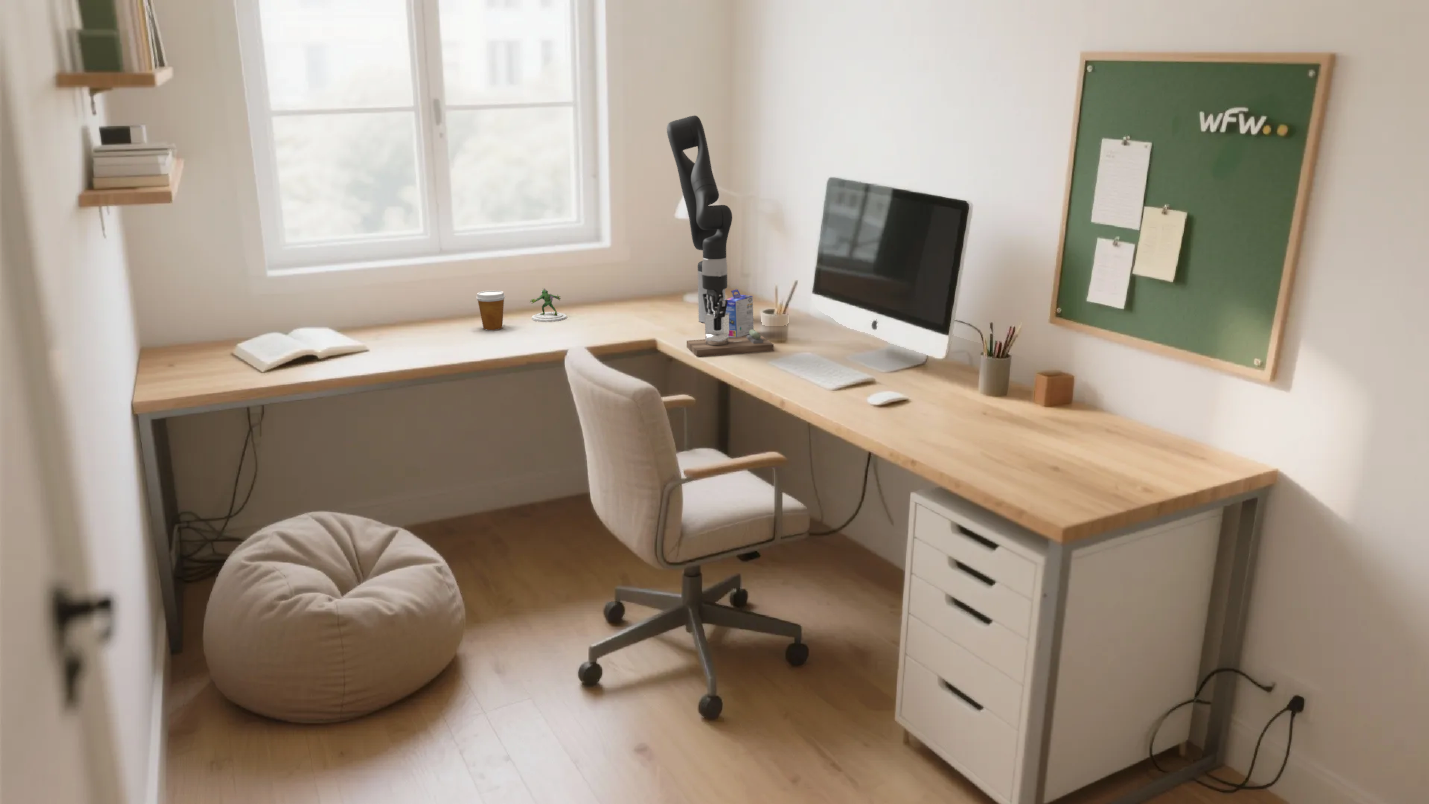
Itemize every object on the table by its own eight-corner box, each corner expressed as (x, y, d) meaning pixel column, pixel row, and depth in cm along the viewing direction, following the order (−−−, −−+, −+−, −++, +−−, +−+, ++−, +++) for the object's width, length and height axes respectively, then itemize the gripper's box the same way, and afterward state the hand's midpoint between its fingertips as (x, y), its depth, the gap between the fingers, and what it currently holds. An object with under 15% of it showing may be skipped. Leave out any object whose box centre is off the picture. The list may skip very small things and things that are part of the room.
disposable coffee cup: (513, 326, 375) (510, 291, 371) (493, 332, 367) (490, 296, 364) (492, 323, 380) (489, 289, 376) (472, 329, 372) (469, 293, 368)
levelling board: (686, 346, 343) (686, 331, 342) (761, 341, 349) (761, 325, 348) (696, 356, 331) (696, 340, 330) (773, 350, 337) (773, 334, 336)
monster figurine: (558, 313, 395) (556, 285, 392) (572, 319, 385) (570, 290, 382) (526, 317, 389) (524, 288, 386) (539, 323, 379) (537, 293, 377)
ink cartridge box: (740, 330, 364) (740, 287, 360) (754, 332, 361) (754, 288, 357) (723, 336, 357) (722, 292, 352) (737, 338, 353) (736, 293, 349)
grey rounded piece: (705, 345, 335) (704, 316, 333) (706, 340, 342) (705, 311, 340) (728, 345, 335) (728, 316, 333) (729, 340, 342) (729, 311, 339)
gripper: (694, 270, 337) (694, 325, 342) (712, 277, 325) (713, 335, 330) (716, 268, 340) (717, 323, 345) (735, 275, 328) (736, 332, 333)
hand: (715, 328), depth 337 cm, fingers closed on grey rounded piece, 3 cm apart
